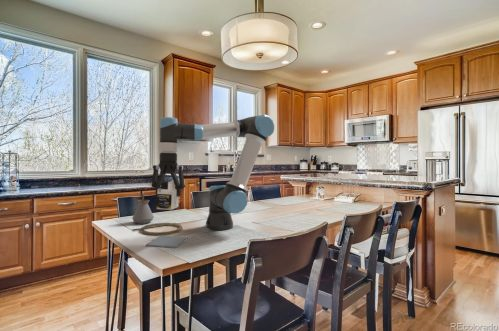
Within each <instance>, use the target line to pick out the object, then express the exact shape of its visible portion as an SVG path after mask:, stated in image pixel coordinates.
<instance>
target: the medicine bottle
mask: <svg viewBox="0 0 499 331" xmlns="http://www.w3.org/2000/svg"><path fill="white" fill-rule="evenodd" d="M160 187H161V191H162V192H159V193H157V196H156V210H166V211H167V210H170V211H172V210H174V209H176V208H179V203H178V204H174V190H175V189H176V187H175V184H174V181H170V180H168V181H167V180H166V181H164V180H163V181H162V183H161V186H160Z"/></svg>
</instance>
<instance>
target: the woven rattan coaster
mask: <svg viewBox="0 0 499 331" xmlns="http://www.w3.org/2000/svg"><path fill="white" fill-rule="evenodd" d="M153 226H154V227H160V226H162V227H163V226H170V227H173V226H174V227H177V229H173V230H169V231H159V232H158V231H148V230H146V229H148V228H154V227H153ZM182 230H183V226H182V224H179V223H176V222H157V223H151V224H145V225H144V226H141V227H140V233H141V234H143V235H146V236H170V235H171V234H176V233H180V232H181V231H182Z"/></svg>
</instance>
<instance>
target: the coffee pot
mask: <svg viewBox="0 0 499 331" xmlns="http://www.w3.org/2000/svg"><path fill="white" fill-rule="evenodd" d="M140 196H141V199H138V200H137V207H136V209H135V212H134V213H133V215H132V221H133V222H135V224H137V223H138V224H137V225H147V224H149V223H151V222H152V221H153V219H154V215H153V212H152V210H151V208H150V205H149V202H150V200H149V199H145V193H141V195H140ZM146 223H147V224H146Z"/></svg>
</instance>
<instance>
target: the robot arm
mask: <svg viewBox="0 0 499 331" xmlns="http://www.w3.org/2000/svg"><path fill="white" fill-rule="evenodd" d="M274 132H275V123H274V120H273V119H272V117H271V116H269V115H268V114H258V115H253V116H249V117H245V118H243V119H236V120H233V121H232V122H221V123H210V124H205V123H204V124H195V123H181V122H179V121H178V118H176V117H173V116H172V117H170V116H164V117H163V116H162V117H161V118H160V121H159V163H158V164H156V165H155V164H154V165H152V169H153V171H152V172H153V173H152V180H151V185H150V186H151V188H154V189H155V196H156V197H157V193H159V192H162V191H161V183H162V182H164V178H165V176H166V174H170V176H171V178H172V180H173V181H172V182H174V184H175V190H174V204H178V205H179V197H181V189H184V188H185V179H184V178H185V177H184V168H185V166H184V165H179V164H178V154H177V152H178V142H179V143H180V142H187V141H194V142H197V141H201V140H207V139H216V138H217V139H218V138H228V137H234V138H245V142H244V144H243V147H242V149H241V151H240V152H241V153H240V154H239V158H238V161H237V162H236V166H235V168H234V170H233V173H232V176H231V178H230V181H227V182H226V184H225V185H224V184H223V185H220V184H219V185H211V186H210V187H209V188H208V189H209V190H208V194H209V195H208V200H209V201H208V215H207V218H206V221H205V228H206V229H209V230H213V231H226V230H231V229H233V228H232V227H234V221H233V218H232V215H231V214H240V213H241V212H242V211H243V212H244V210H245V209H246V207H247V206H248V196H247V193H248V189H247V186H248V182H249V179H250V177H251V174H252V171H253V169H254V165H255V163H256V161H257V159H258V156H259V152H260V150H261V147H262V146H263V145H264V144H266V142H267V139H268V137H270V136H272V135H273V134H274ZM159 169H160V170H161V171H160V173H159ZM176 170H177V171H178V176H177V171H176ZM230 228H231V229H230ZM225 229H226V230H225Z"/></svg>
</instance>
